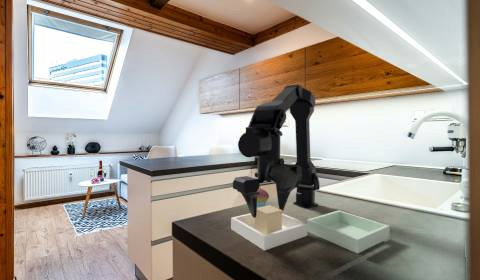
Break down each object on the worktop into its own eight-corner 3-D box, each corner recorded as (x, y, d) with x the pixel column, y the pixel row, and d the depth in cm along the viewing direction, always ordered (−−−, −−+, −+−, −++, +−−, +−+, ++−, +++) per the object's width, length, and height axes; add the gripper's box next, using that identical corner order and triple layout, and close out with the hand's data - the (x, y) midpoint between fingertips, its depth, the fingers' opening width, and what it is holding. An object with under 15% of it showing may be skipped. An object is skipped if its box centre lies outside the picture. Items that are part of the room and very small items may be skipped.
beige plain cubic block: (269, 226, 67) (269, 205, 66) (281, 233, 62) (282, 210, 62) (254, 230, 64) (254, 208, 64) (266, 237, 60) (267, 213, 59)
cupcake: (274, 209, 83) (274, 174, 83) (255, 215, 78) (256, 177, 77) (256, 203, 90) (256, 171, 89) (238, 208, 84) (239, 173, 84)
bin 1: (270, 220, 73) (270, 208, 73) (307, 237, 61) (307, 223, 61) (231, 230, 65) (231, 217, 65) (264, 252, 53) (264, 236, 53)
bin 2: (338, 222, 72) (339, 210, 72) (389, 240, 60) (389, 225, 60) (306, 233, 64) (306, 219, 64) (357, 256, 52) (357, 239, 52)
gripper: (259, 159, 51) (259, 233, 51) (318, 154, 61) (317, 216, 62) (231, 154, 60) (231, 217, 60) (286, 151, 70) (286, 204, 71)
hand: (268, 213), depth 63 cm, fingers open, 9 cm apart
